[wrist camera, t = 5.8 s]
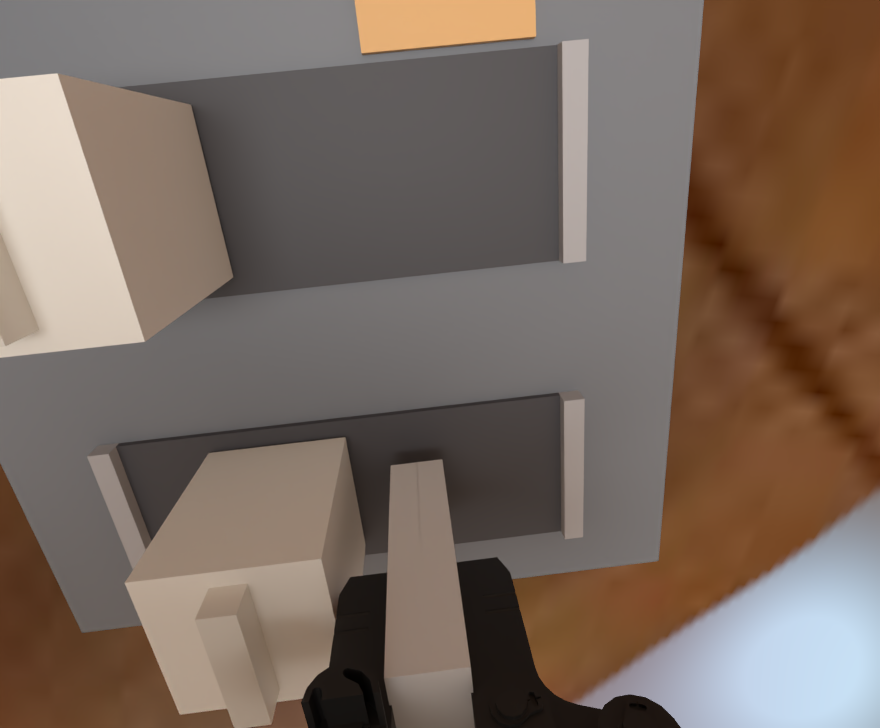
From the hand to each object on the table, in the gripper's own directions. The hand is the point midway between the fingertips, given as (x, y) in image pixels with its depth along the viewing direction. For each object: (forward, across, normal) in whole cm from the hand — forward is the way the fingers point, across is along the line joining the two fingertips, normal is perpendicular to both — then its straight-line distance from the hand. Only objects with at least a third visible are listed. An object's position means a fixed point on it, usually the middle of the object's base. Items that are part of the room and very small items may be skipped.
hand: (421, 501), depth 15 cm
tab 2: (+1, -6, +9) cm, 11 cm away
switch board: (+3, -2, +4) cm, 6 cm away
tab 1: (+1, -4, 0) cm, 4 cm away
